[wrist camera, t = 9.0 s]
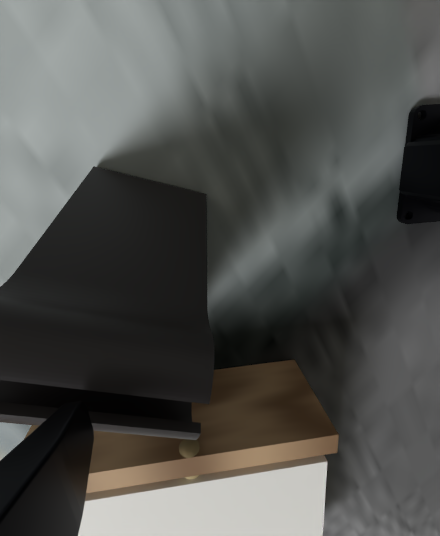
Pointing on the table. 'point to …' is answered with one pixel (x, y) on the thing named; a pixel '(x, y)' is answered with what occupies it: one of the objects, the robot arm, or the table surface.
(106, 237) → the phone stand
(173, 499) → the trapdoor
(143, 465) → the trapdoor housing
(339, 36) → the table surface
